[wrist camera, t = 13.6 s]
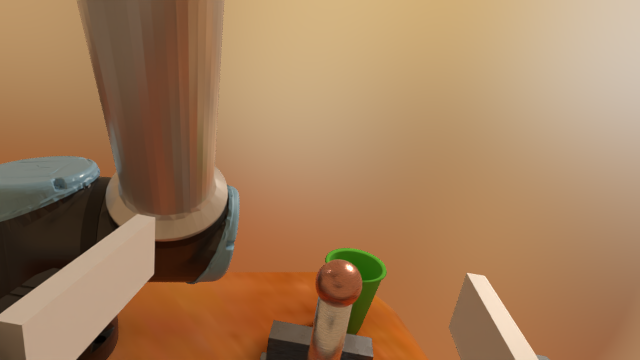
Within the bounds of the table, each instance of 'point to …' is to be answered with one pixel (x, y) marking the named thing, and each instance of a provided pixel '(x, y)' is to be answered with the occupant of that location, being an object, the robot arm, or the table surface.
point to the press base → (294, 341)
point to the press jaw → (333, 308)
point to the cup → (371, 278)
